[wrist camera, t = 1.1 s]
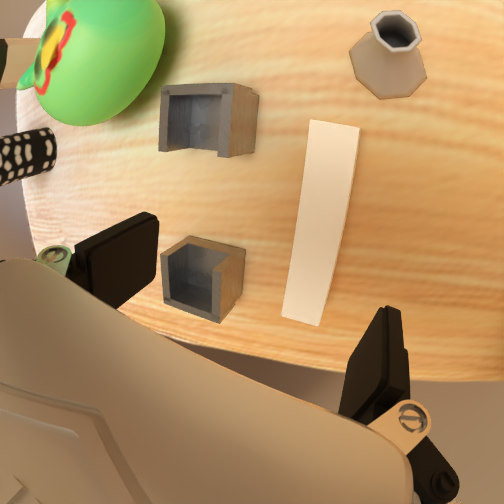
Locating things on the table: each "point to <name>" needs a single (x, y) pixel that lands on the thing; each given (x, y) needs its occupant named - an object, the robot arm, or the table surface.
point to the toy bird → (95, 57)
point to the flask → (389, 56)
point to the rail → (320, 218)
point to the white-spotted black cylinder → (26, 154)
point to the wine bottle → (16, 59)
